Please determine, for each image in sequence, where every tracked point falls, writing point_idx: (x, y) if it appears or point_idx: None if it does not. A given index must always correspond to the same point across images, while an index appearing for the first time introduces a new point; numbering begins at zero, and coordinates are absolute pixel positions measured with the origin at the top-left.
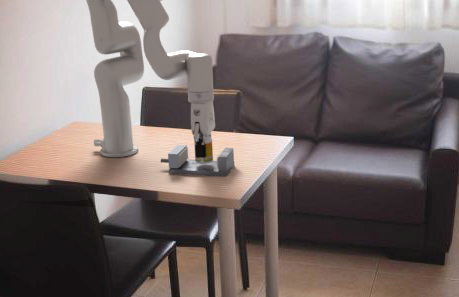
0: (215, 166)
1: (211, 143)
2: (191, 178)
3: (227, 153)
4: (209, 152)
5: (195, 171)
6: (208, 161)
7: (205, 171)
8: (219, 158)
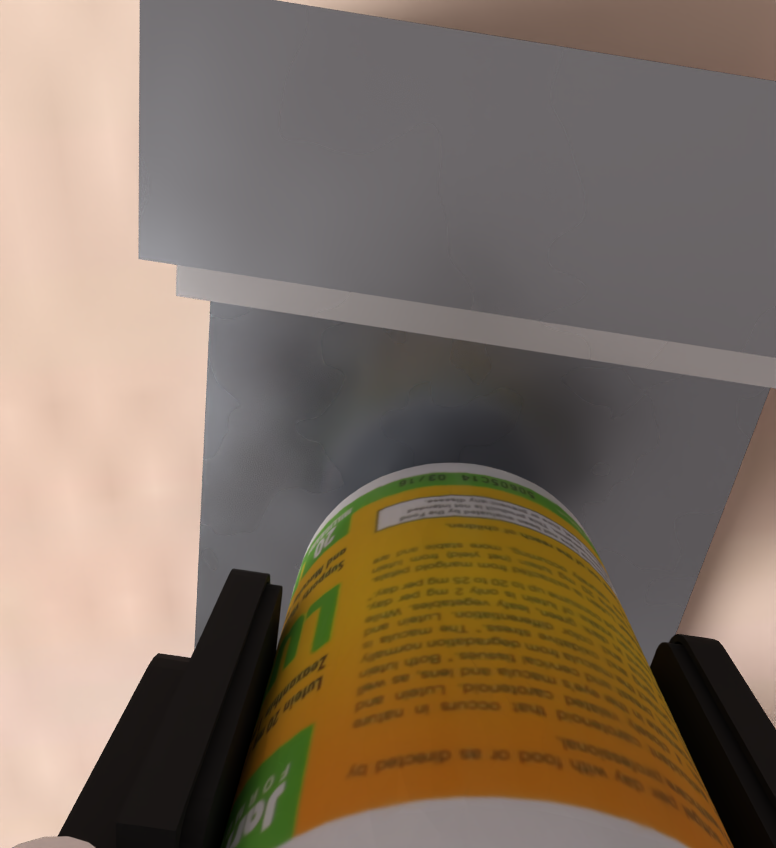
0: (510, 381)
1: (570, 748)
2: (755, 627)
3: (742, 128)
4: (609, 619)
5: (669, 629)
6: (584, 531)
7: (720, 505)
8: None
